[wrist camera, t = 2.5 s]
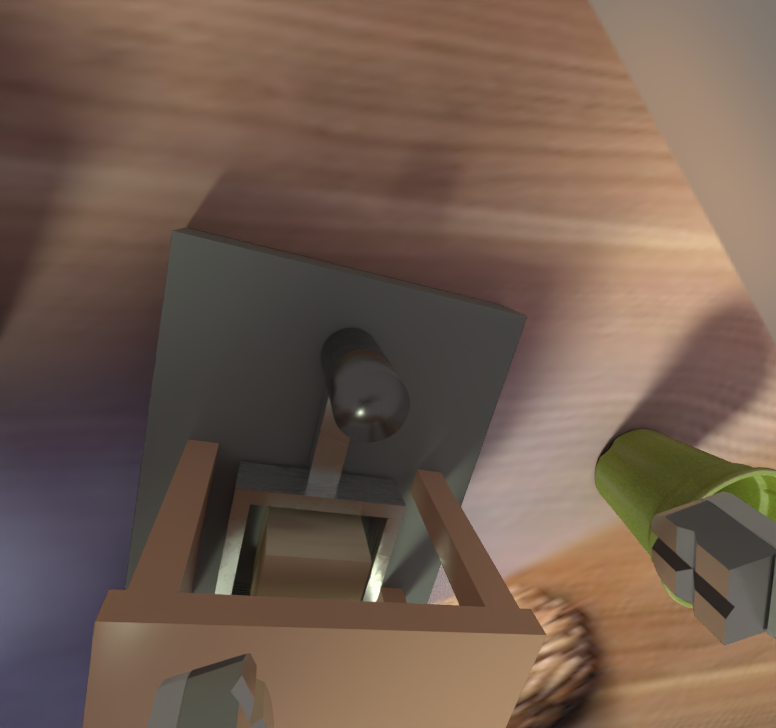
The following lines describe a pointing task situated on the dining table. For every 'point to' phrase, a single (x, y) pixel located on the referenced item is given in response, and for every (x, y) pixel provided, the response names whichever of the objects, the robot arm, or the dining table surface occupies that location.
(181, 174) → the dining table surface
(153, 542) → the wooden stool
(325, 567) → the beech block
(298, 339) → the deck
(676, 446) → the plant pot
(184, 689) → the robot arm
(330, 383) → the slider
